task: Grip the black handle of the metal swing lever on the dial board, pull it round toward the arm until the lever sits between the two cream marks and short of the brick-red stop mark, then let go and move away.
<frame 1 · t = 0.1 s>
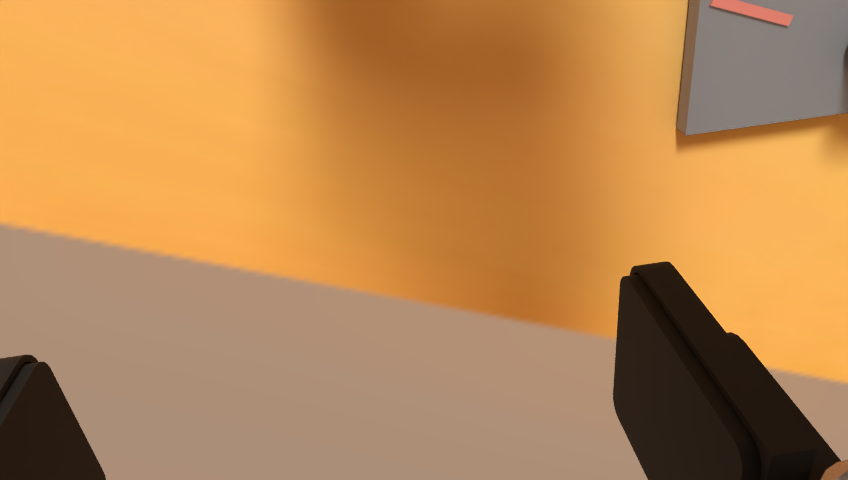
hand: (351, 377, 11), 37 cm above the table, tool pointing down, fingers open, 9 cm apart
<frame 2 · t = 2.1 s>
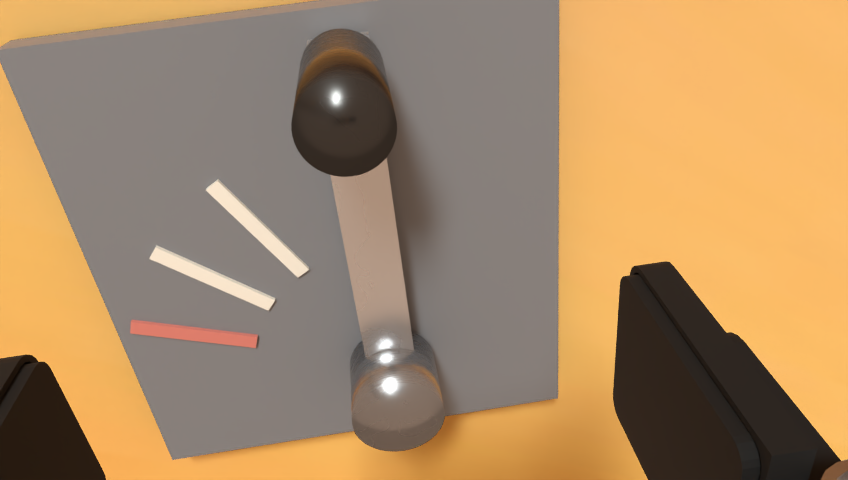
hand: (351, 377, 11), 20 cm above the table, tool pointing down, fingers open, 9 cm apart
swing lever: (375, 282, 28), point 6 cm above the table, hinge at 0.0°
dial board: (333, 243, 33), on the table
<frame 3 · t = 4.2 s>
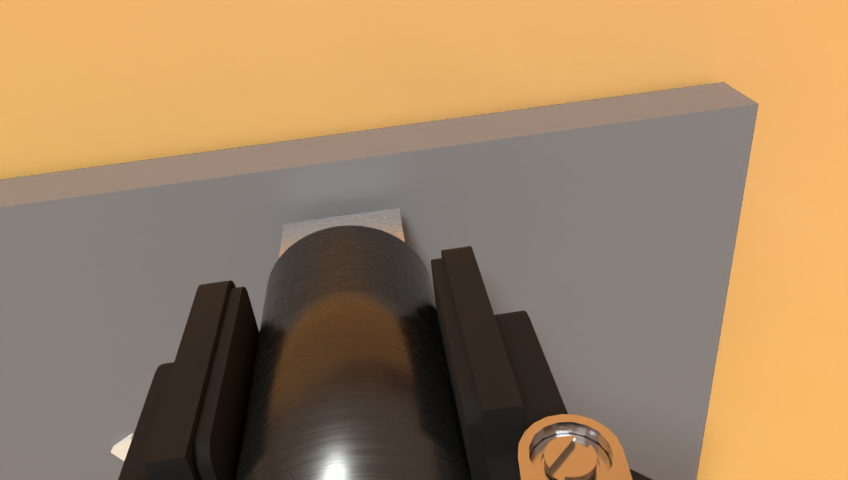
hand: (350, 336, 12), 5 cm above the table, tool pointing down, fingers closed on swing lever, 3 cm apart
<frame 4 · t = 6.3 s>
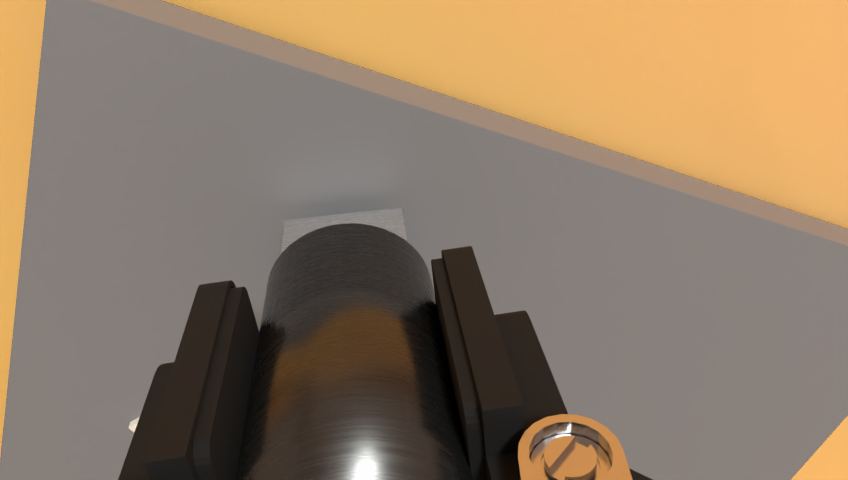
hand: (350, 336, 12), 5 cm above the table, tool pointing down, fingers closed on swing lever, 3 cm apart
dial board: (411, 469, 21), on the table
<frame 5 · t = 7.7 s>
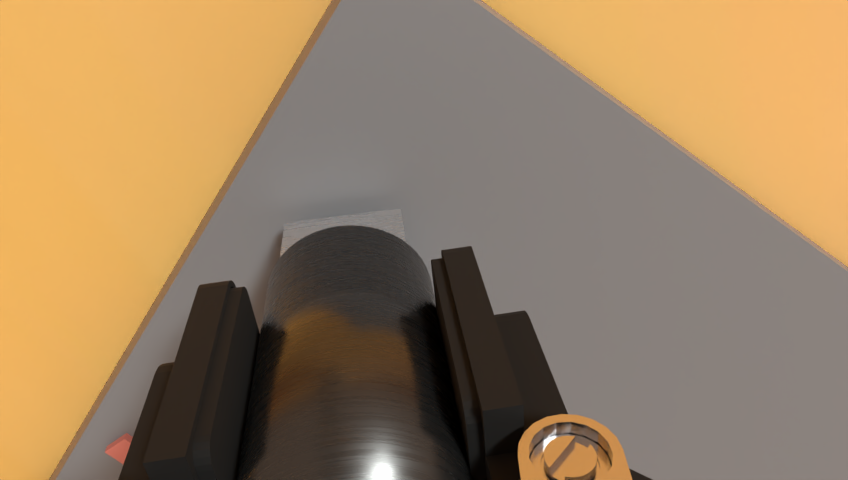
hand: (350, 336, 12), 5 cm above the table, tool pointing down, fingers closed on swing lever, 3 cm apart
dial board: (474, 470, 21), on the table
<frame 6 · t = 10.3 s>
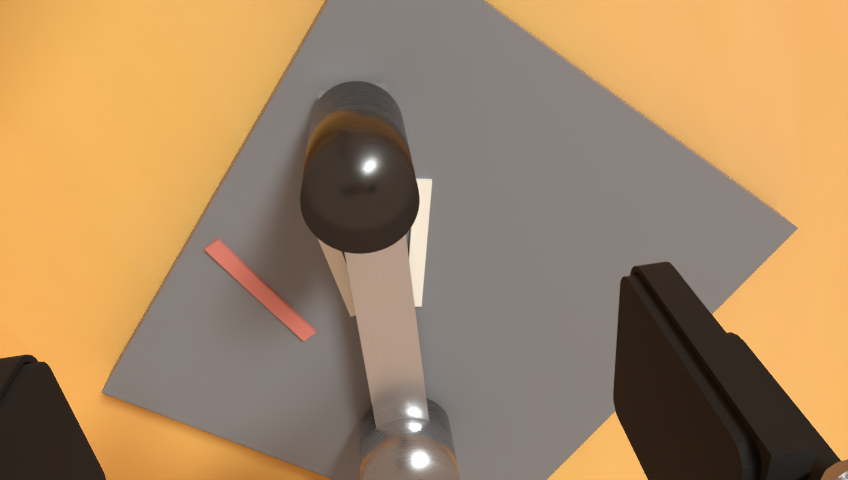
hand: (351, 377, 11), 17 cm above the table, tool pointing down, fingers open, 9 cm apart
swing lever: (389, 354, 25), point 6 cm above the table, hinge at 39.7°
dial board: (442, 292, 31), on the table
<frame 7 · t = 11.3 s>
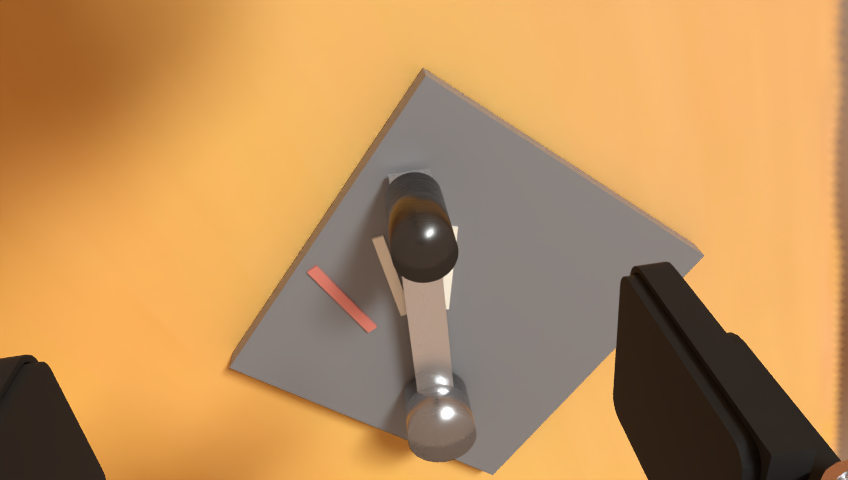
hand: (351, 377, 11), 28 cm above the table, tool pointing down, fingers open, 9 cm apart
swing lever: (431, 341, 39), point 6 cm above the table, hinge at 39.7°
dial board: (462, 298, 45), on the table
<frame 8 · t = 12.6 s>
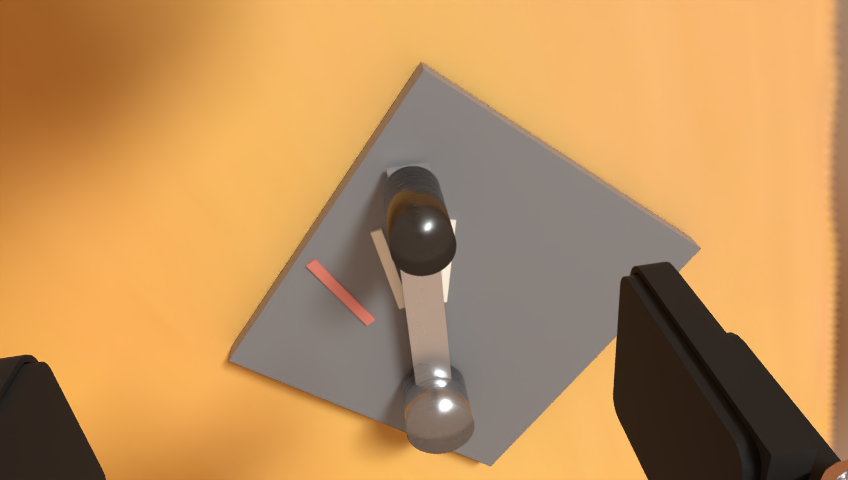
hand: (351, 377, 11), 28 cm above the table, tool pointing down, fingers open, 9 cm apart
swing lever: (429, 334, 40), point 6 cm above the table, hinge at 39.7°
dial board: (460, 291, 45), on the table
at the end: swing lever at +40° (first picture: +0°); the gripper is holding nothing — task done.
